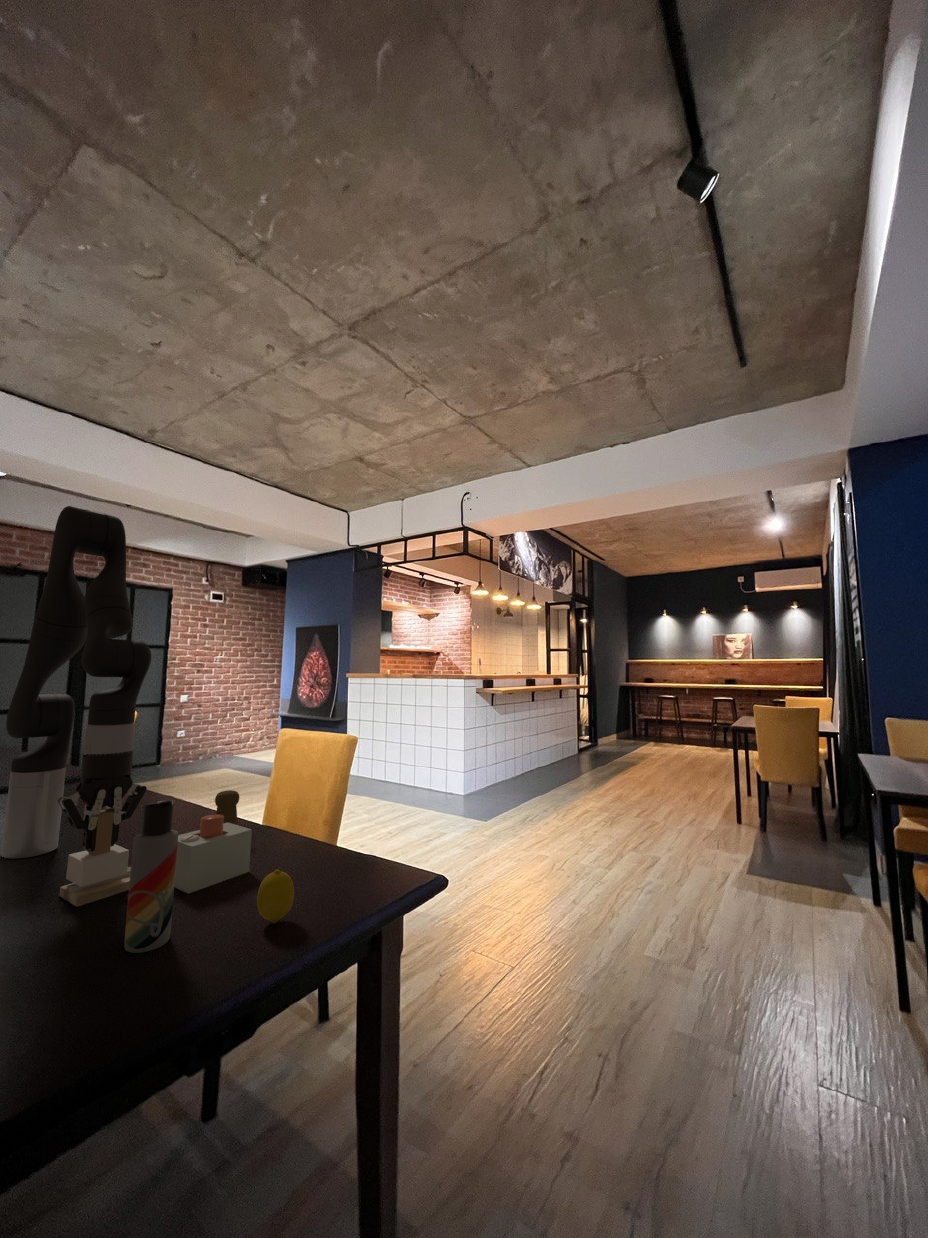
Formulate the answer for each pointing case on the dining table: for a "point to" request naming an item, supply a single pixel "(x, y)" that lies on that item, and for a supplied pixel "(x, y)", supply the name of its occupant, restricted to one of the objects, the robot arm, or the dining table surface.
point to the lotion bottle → (152, 880)
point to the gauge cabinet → (211, 857)
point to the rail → (95, 890)
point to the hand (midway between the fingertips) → (99, 847)
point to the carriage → (98, 857)
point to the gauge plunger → (211, 826)
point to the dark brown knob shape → (227, 805)
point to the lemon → (275, 896)
